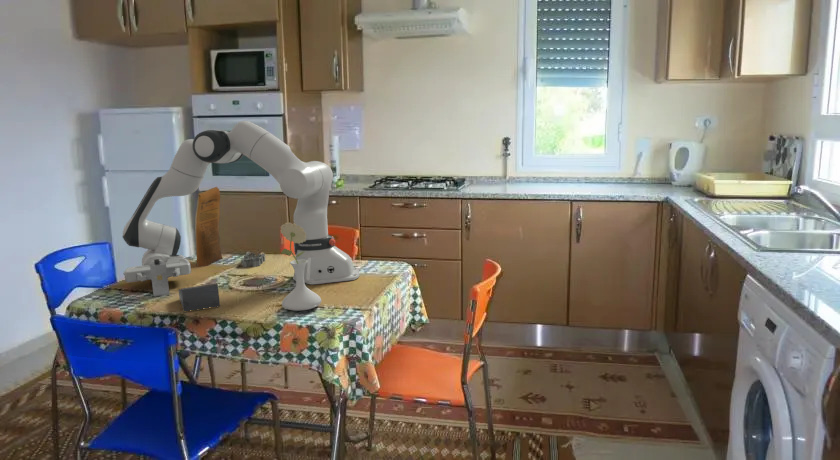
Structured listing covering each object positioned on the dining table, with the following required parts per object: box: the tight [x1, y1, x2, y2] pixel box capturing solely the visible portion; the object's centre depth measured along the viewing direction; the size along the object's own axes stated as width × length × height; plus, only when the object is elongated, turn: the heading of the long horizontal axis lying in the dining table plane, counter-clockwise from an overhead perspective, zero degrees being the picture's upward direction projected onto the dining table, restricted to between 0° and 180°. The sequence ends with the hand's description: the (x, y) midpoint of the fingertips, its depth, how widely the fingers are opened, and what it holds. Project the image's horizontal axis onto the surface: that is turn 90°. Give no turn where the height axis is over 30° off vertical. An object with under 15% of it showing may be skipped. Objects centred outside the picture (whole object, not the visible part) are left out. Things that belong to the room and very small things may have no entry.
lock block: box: [149, 259, 170, 298], centre depth 200 cm, size 6×5×11 cm
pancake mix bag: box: [194, 186, 223, 268], centre depth 238 cm, size 7×19×28 cm, turn 168°
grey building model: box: [240, 250, 266, 268], centre depth 236 cm, size 11×8×4 cm
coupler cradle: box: [178, 283, 221, 312], centre depth 190 cm, size 14×10×7 cm
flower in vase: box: [280, 222, 323, 312], centre depth 181 cm, size 13×11×25 cm
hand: (159, 276), depth 202 cm, fingers open, 8 cm apart
